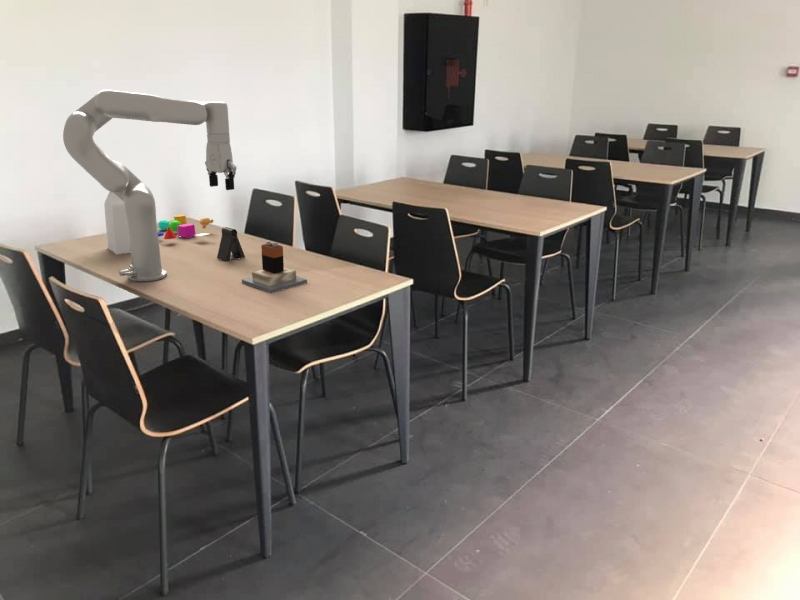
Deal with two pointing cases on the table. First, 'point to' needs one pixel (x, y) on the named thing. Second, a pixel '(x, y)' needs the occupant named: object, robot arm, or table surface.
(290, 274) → the plinth
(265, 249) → the battery
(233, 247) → the phone stand
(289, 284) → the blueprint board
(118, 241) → the milk
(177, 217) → the shape set
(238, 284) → the table surface
